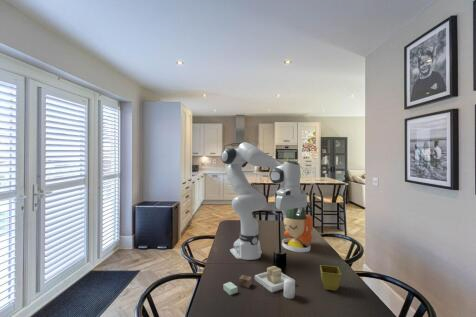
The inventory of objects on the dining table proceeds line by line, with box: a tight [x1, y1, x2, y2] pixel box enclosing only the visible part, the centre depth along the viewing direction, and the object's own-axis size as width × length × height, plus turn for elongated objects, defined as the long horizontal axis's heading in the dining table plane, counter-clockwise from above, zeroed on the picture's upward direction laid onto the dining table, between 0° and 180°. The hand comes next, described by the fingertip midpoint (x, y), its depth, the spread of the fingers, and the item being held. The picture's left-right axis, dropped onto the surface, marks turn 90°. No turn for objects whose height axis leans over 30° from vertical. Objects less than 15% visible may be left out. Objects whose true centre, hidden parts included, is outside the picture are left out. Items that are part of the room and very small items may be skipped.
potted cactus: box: [281, 207, 314, 253], centre depth 177 cm, size 22×22×35 cm
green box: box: [222, 281, 238, 296], centre depth 117 cm, size 6×4×3 cm, turn 35°
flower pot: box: [319, 264, 342, 292], centre depth 121 cm, size 9×9×9 cm
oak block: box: [266, 265, 282, 284], centre depth 126 cm, size 5×5×6 cm
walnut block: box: [238, 274, 252, 289], centre depth 123 cm, size 5×4×4 cm
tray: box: [254, 271, 291, 293], centre depth 126 cm, size 14×14×2 cm
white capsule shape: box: [282, 277, 296, 300], centre depth 114 cm, size 5×5×7 cm
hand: (292, 216), depth 135 cm, fingers open, 8 cm apart
